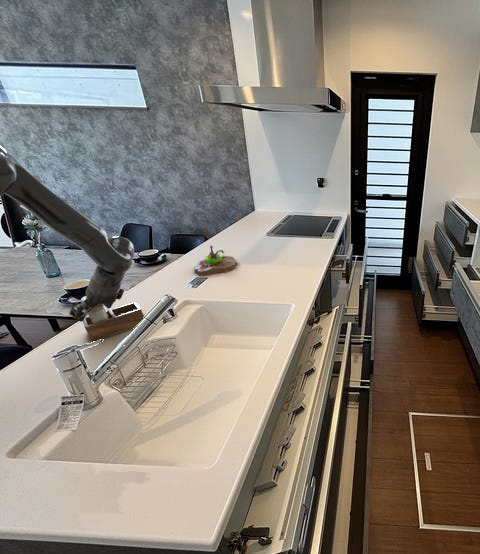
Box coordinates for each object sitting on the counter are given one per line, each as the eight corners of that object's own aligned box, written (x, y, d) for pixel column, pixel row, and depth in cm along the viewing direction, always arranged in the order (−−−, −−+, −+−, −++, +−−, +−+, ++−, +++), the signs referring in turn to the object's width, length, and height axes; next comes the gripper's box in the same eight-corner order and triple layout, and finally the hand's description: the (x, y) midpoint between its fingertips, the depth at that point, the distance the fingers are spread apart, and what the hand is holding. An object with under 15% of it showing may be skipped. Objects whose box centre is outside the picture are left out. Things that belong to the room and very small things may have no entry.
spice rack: (88, 333, 105) (81, 318, 103) (141, 315, 115) (135, 301, 113) (92, 342, 100) (84, 327, 98) (146, 323, 110) (141, 308, 108)
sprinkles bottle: (114, 325, 108) (99, 292, 102) (113, 331, 104) (97, 297, 99) (97, 330, 105) (81, 296, 100) (96, 336, 102) (79, 301, 96)
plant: (236, 257, 170) (232, 238, 165) (237, 270, 153) (232, 249, 149) (196, 263, 163) (191, 243, 158) (193, 277, 146) (186, 255, 142)
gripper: (118, 269, 100) (107, 295, 108) (68, 287, 88) (60, 315, 96) (135, 285, 101) (123, 310, 109) (88, 306, 89) (78, 332, 97)
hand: (93, 312), depth 102 cm, fingers open, 8 cm apart
